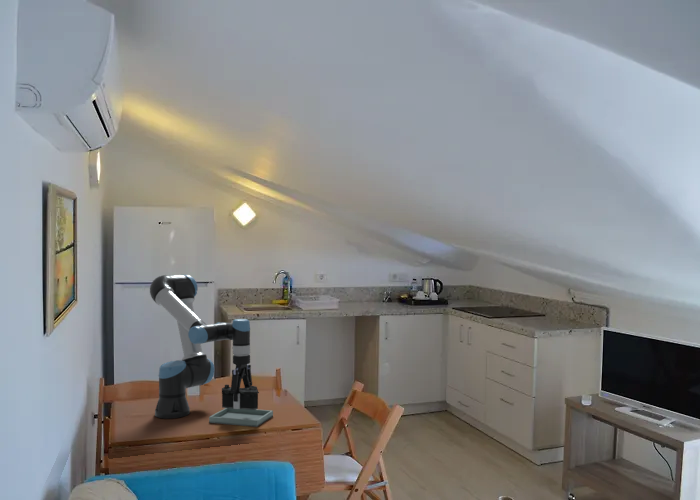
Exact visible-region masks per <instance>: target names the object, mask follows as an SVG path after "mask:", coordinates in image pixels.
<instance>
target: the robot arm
mask: <svg viewBox="0 0 700 500" xmlns="http://www.w3.org/2000/svg"><path fill="white" fill-rule="evenodd" d="M149 295H150V297H151V299H152V301H153V302H155V304H156V305H158V306H161V307H162V308H164V309H165V310H166V311H167V313H169V314H170V315H171V316H172V317H173V318H174V319H175V320H176V322H177V327H178V332H179V338H180V343H181V346H182V347H181V348H182V352H183V357H182V359H179V360H171V361H167V362H164V363H163V364H161V365H160V366H159V370H158V388H159V389H158V401H157V404H156V407H155V410H154V417H156V418H159V419H178V418H183V417H186V416H189V415H190V414H191V412H190V411H191V408H190V405H189V403H188V399H187V396H186V395H187V394H186V391H187V390H186V389H190V388H194V387H198V386H203V385H205V384H208V383H210V382H211V381H212V380H213V377H214V375H215V365H214V362H213V361H212V359H210V358H208V356H207V354H206V353H205V352H203V349H202V344H205V343H210V342H218V341H224V340H225V341H227V340H228V341H232V348H231V349H232V363H233V365H235V369H231V384H230V387H231V394H233V409H240V394H239V389H240V388H241V384H242V382H243V388H247V387H248V388H249V387H251V386H253V379H252V378H253V377H252V371H251V369H252V365H251V364H250V363H251V323H250V320H249V319H247V318H237V319H233V320H232V322H225V321H221V322H220V321H217V322H216V323H211V324H206V322H204V321H203V320H202V319H201V318H200V317H199V316H198V315H197V314H196V313H195V311H194V306H193V303H194V302H195V300H196V298H195V297H196V296H197V295H198V284H197V280H196V279H195V278H194V277H193V276H191V275H190V274H182V273H181V274H169V275H166V274H165V275H159V276H157V277H156V278H155V279H154V280H152V282H151V284H150V287H149Z"/></svg>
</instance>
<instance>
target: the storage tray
mask: <svg viewBox="0 0 700 500" xmlns="http://www.w3.org/2000/svg"><path fill="white" fill-rule="evenodd" d="M273 416H274V410H271V409H269V410H268V409H267V410H266V409H259V408H258V409H256V410H246V409H232V408H222V410H219V411H217V412H216V413H213V414H212V415H210V416H209V417H208V423H210V424H221V425H231V426H243V427H255V428H257V427H259V426H261V425H262V424H264V423H265V422H266V421H268V420H269V419H271V418H273Z"/></svg>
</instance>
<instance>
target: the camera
mask: <svg viewBox="0 0 700 500" xmlns="http://www.w3.org/2000/svg"><path fill="white" fill-rule="evenodd" d="M259 393H260V392H259V390H258V386H256V385H252V386H251V387H249V388H248V387H247V388H245V387H240V389H239V394H240V409H246V410H256V409H258V410H259ZM221 404H222V405H221V406H222V409H225V408H232V409H233V394H231V386H230V385H229V384H224V387H222V388H221Z"/></svg>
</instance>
